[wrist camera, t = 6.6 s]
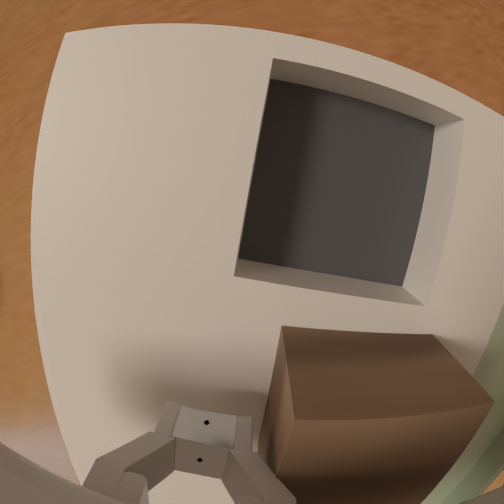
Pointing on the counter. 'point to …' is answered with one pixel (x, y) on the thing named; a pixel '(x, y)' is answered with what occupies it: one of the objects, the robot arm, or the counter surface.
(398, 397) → the walnut block
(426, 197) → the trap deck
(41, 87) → the counter surface
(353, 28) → the counter surface
